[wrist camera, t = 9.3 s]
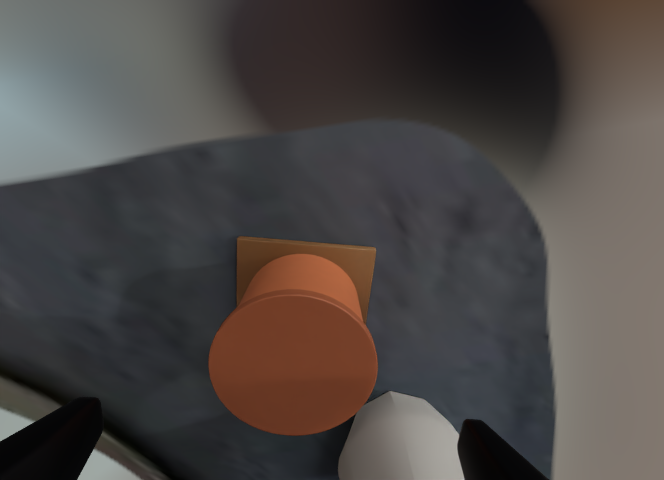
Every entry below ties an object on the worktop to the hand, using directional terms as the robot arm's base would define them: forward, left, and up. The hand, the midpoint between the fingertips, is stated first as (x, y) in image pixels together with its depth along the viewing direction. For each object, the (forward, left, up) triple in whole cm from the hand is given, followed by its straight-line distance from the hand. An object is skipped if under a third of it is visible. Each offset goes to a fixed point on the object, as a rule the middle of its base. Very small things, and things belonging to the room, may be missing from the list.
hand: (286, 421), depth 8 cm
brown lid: (0, 0, -6) cm, 6 cm away
